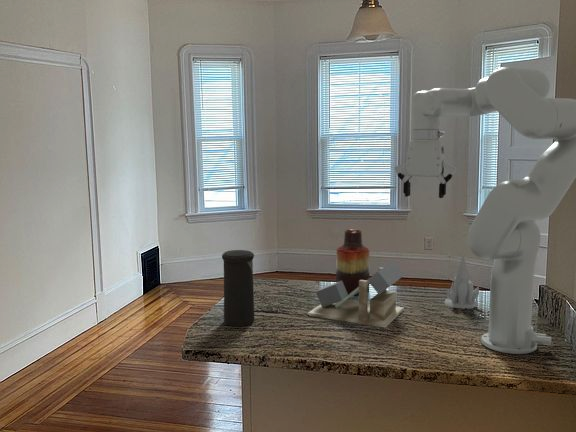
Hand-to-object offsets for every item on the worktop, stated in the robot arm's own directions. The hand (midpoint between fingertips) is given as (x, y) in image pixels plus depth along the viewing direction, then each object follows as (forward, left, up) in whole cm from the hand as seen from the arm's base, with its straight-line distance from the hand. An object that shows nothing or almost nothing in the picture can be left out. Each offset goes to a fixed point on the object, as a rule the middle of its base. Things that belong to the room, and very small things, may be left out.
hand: (424, 196), depth 158 cm
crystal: (-9, -12, -34) cm, 37 cm away
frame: (+16, +11, -33) cm, 39 cm away
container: (+42, +33, -34) cm, 63 cm away
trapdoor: (+10, +11, -28) cm, 32 cm away
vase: (+25, -9, -34) cm, 43 cm away
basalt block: (+21, +11, -27) cm, 36 cm away
